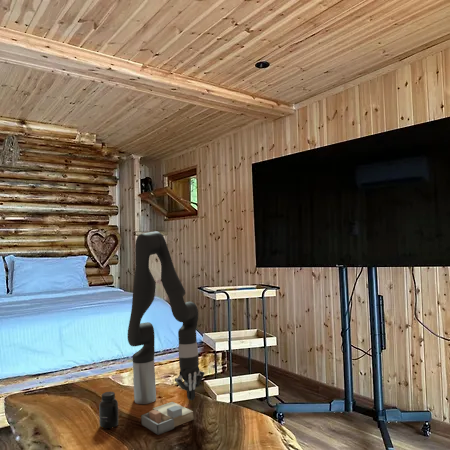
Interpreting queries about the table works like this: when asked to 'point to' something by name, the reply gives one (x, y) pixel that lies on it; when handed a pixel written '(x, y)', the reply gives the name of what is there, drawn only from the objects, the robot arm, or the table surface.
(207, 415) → the table surface
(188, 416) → the board
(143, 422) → the tray
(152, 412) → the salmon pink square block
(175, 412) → the blue gray block
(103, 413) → the supplement bottle
